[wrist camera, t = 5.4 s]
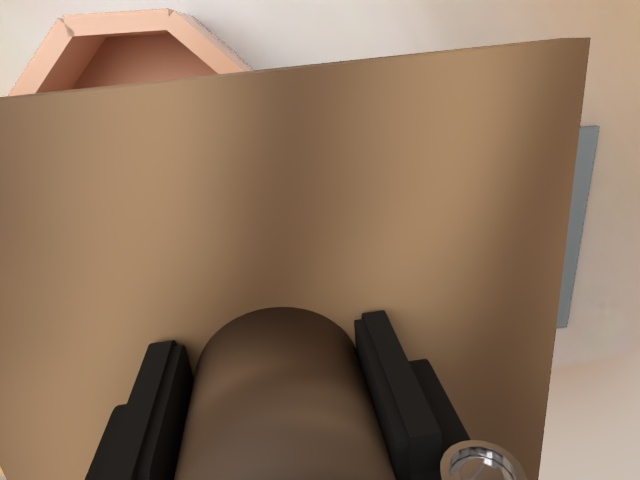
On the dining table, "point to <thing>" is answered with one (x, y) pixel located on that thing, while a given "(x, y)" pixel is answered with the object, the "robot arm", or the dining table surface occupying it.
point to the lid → (287, 254)
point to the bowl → (124, 51)
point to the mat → (577, 217)
